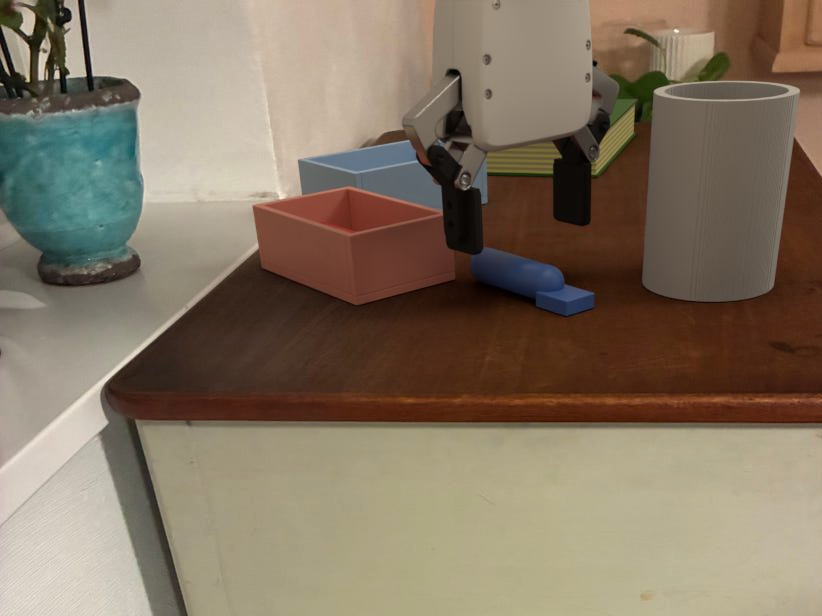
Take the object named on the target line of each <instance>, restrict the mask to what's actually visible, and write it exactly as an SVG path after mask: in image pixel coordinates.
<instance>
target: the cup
mask: <svg viewBox="0 0 822 616" xmlns="http://www.w3.org/2000/svg"><path fill="white" fill-rule="evenodd" d="M652 94H653V96H652V97H653V98H652V113H651V126H650V127H651V129H650V130H651V132H650V142H649V143H650V146H649V163H648V175H647V176H648V179H647V195H646V210H645V214H646V215H645V227H644V244H643V259H642V277H641V280H642V281H641V283H642V285H643V287H645V289H646V290H649V291H650V292H652V293H654V294H657V295H659V296H663V297H666V298H669V299H670V298H672V299H676V300H682V301H688V302H689V301H692V302H703V303H719V302H721V303H722V302H723V303H724V302H734V301H736V302H737V301H742V300H743V301H744V300H748V299H752V298H757V297H760V296H763V295H765V294H767V293H769V292H770V291H771V290H773V288H774V286H775V279H776V273H777V266H778V265H777V264H778V259H779V251H780V245H781V244H780V242H781V235H782V228H783V220H784V214H785V206H786V199H787V193H788V192H787V191H788V183H789V177H790V169H791V164H792V163H791V162H792V155H793V147H794V140H795V133H796V126H797V118H798V111H799V103H800V96H801V89H800V88H798V87H796V86H793V85H789V84H784V83H777V82H769V81H768V82H767V81H757V80H756V81H752V80H707V81H693V82H692V81H691V82H682V83H675V84H667V85H663V86H661V87H657V88H655V89H654V90H653V93H652Z"/></svg>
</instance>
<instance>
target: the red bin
mask: <svg viewBox="0 0 822 616" xmlns="http://www.w3.org/2000/svg"><path fill="white" fill-rule="evenodd" d="M251 206H252V212H253V213H252V214H253V219H254V225H255V231H256V239H257V245H258V252H259V258H260V265H261V268H262V269H263V270H266V271H269V272H271V273H274V274H276V275H278V276H281V277H282V278H286V279H288V280H291V281H294V282H295V283H299V284H301V285H304V286H306V287H309V288H311V289H314V290H317V291H319V292H321V293H324V294H326V295H329V296H332V297H334V298H337V299H339V300H341V301H345V302H347V303H349V304H352V305H354V306H360V305H365V304H368V303H371V302H372V303H373V302H375V301H380V300H382V299H386V298H390V297H393V296H398V295H402V294H405V293H409V292H413V291H416V290H420V289H424V288H428V287H431V286H435V285H439V284H442V283H447V282H450V281H454V280H456V266H455V265H456V264H455V250H452V249H449V248H448V247H447V245H446V236H445V233H444V223H443V211H442V210H438V209H434V208H430V207H426V206H422V205H419V204H415V203H411V202H407V201H403V200H400V199H396V198H392V197H388V196H384V195H380V194H377V193H373V192H369V191H365V190H361V189H358V188H354V187H350V186H348V187H343V188H338V189H333V190H327V191H322V192H317V193H312V194H307V195H302V194H301V195H297V196H292V197H288V198H281V199H277V200H271V201H266V202H261V203H256V204H252V205H251ZM319 222H326V223H329V224H332V225H336V226H339V227H342V228H345V229H348V230H352V231H355V233H350V232H346V231H343V230H340V229H337V228H334V227H330V226H327V225H324V224H321V223H319Z"/></svg>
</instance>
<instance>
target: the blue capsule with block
mask: <svg viewBox="0 0 822 616" xmlns="http://www.w3.org/2000/svg"><path fill="white" fill-rule="evenodd" d="M469 270H470V273H471V275H472V277H473V278H474V279H475V280H476V281H478V282H480V283H483V284H485V285H488V286H492V287H495V288H497V289H501V290H504V291H508V292H511V293H514V294H517V295H520V296H523V297H526V298H529V299H532V300H535V307H537V308H539V309H542V310H544V311H545V310H546V311H549V312H553V313H555V314H558V315H561V316H564V317H568V316H571V315H575V314H578V313H581V312H585V311H588V310H591V309H594V308H595V293H594V292H592V291H589V290H586V289H582V288H580V287H579V288H578V287H575V286H572V285H568V284H566V283H565V277H564V275H563V273H562V271H561V270H560V269H559V268H557V267H556V266H554V265H552V264H548V263H545V262H541V261H538V260H534V259H530V258H527V257H524V256H520V255H517V254H513V253H510V252H506V251H503V250H500V249H499V250H498V249H496V248H494V247H493V248H492V247H483V250H482V252H481V253H480V254H477V255H471V258H470V260H469Z"/></svg>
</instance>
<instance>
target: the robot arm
mask: <svg viewBox="0 0 822 616" xmlns="http://www.w3.org/2000/svg"><path fill="white" fill-rule="evenodd" d="M591 23H592V22H591V11H590V0H434V10H433V23H432V24H433V26H432V49H431V50H432V51H431V52H432V57H431V58H432V63H431V64H432V65H431V67H432V69H431V76H432V77H431V79H432V81H431V83H432V87H431V89H430V90H429V91H428V92H427V93H426V94H425V95H424V96H423V97H422V98H420V100H419V101H417V102H416V103H415V104H414V105H413V106H412V107H410V109H409V110H408V111H407V112H406V113H405V114H404V115H403V116H402V119H401V126H402V128H403V130H404V133H405V135H406V137H407V138H408V139H407V140H409V141H410V143H411V145H412V147H413V149H414V150H416V158H417V161H418V162H419V163H420V164H421V165H422V166H423V167H424V168H425V169H426V170H427V172H428V173H429V174H430V175H431V176H432V180H433V182H434V183H435V184H436V185H440V186H441V190H442V207H443V223H444V233H445V236H446V245H447V247H448V248H449V249H452V250H454V251H456V252H460V253H464V254H466V255H471V256H473V255H477V254H480V253H481V252H482V250H483V248H484V228H483V226H484V225H483V204H482V201H481V192H480V189H479V188H474V187H472V184H473V182H474V180H475V178H476V176H477V174H478V172H479V170H480V168H481V166H482V164H483V162H484V160H485V158H486V156H487V154H488V152H489V151H491V152H493V151H501V150H506V149H512V148H517V147H522V146H527V145H532V144H537V143H541V142H546V141H551V140H552V142H553V143H554V145H555V147H556V148H557V150H558V151H559V153H560V154H561V156H562V158H557V159H554V164H553V177H552V217H553V219H554V220H555V221H557V222H561V223H565V224H569V225H574V226H579V227H586V226H588V225H590V224H591V220H592V219H591V218H592V178H591V175H592V164H591V162H595V161H596V160H597V159H598V157H599V154H600V148H599V145H600V143H601V141H602V140H603V138H604V136H605V135H606V133H607V131H608V130H609V127H610V118H609V116H610V115H611V114H612V111H613V108H614V105H615V102H616V99H618V96H619V92H620V85H619V84H620V83H619V82H617V80H615V79H614V78H612V77H611V76H609V75H607V74H606V73H605V72H603V71H602V70H600V69H599V68H597V67H596V66H594V65H593V47H592V46H593V42H592V41H593V40H592V24H591ZM438 140H440V141H441V142H443V143H445V146H444V147H443V146H441V145H440V143H439V141H438ZM464 151H465V153H464ZM463 154H464V155H463ZM462 156H463V158H462ZM461 158H462V160H461ZM460 160H461V162H460ZM459 162H460V164H459Z"/></svg>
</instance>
